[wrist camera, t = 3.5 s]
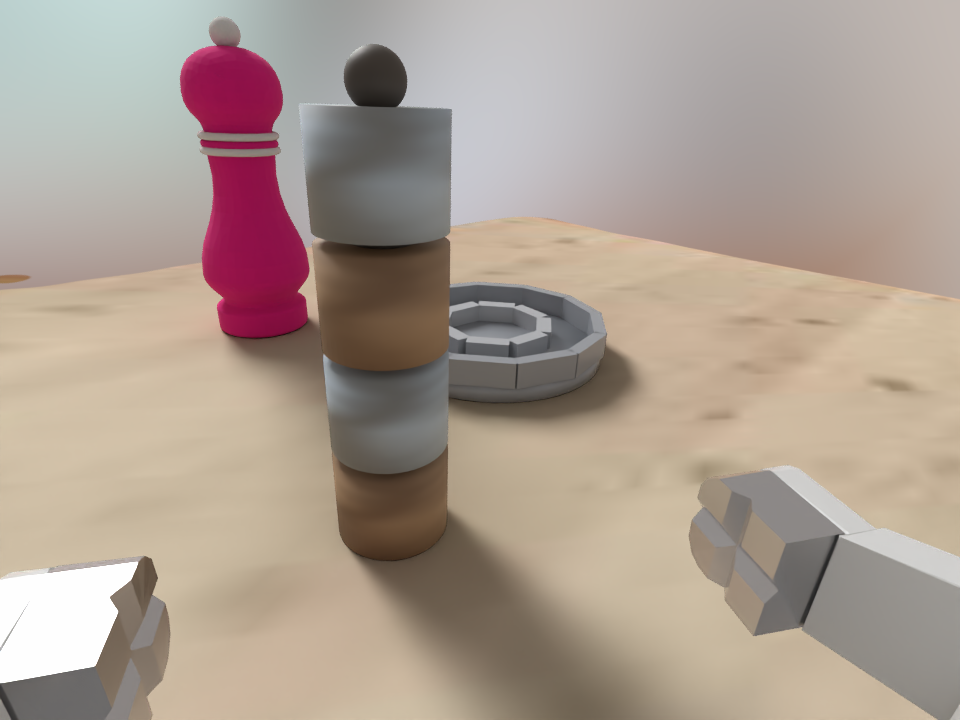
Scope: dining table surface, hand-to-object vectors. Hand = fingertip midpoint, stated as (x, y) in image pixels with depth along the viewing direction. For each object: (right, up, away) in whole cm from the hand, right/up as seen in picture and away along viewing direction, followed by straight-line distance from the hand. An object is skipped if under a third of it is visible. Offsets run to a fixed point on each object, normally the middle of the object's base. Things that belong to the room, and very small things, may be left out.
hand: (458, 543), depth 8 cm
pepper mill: (-16, +5, +34) cm, 38 cm away
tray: (+1, +3, +31) cm, 31 cm away
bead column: (-3, -4, +15) cm, 16 cm away
